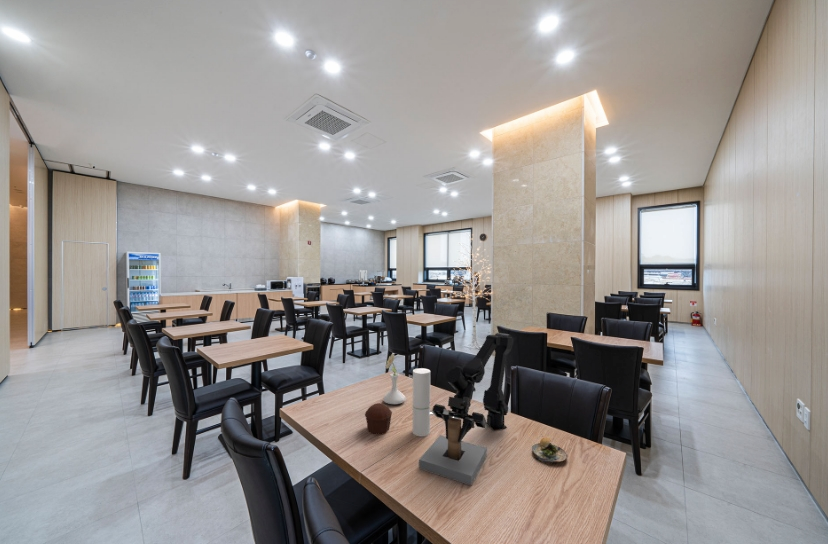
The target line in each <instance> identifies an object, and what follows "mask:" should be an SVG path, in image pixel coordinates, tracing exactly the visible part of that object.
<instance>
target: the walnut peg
mask: <svg viewBox="0 0 828 544" xmlns="http://www.w3.org/2000/svg"><path fill="white" fill-rule="evenodd" d="M461 428H462V419H457V418H452V417H450V418H449V419H448V457H447V458H450V459H454V460H457V461H459V460H460V458H461V442H460V443H459V442H458V439H459V435H460V431H461Z"/></svg>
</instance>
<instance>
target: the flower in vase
mask: <svg viewBox="0 0 828 544" xmlns="http://www.w3.org/2000/svg"><path fill="white" fill-rule="evenodd" d="M394 360H395V354H394V353H392V354H391V355H389V357H388V360H387V361H386V364H385V369H389V368H390V367H392V368H391V371H392V373H389V377H390V378H391V384H392V385H391V390H389V391H388V392H387V393H385V395H383V398H382V400H383V402H384V403H386V404H387V405H388V404H389V405H400V404H402V403H404V402H405V401H406V395H404V394H403V392H401V391H400V390H398V378H399V376H400V373H397V368H396V366H395V364H394Z"/></svg>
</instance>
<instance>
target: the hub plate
mask: <svg viewBox="0 0 828 544" xmlns="http://www.w3.org/2000/svg"><path fill="white" fill-rule="evenodd" d="M487 455H488V447H486V446H482V445H479V444H475V443H471V442H467V441H464V440H461V458H460V460H459V461H457V460H454V459H450V458H448V439H446V435H442V434H441V435H439V436H438V437H437V438H436V440H435V441H434V442H433V443H432V444H431V445H430V446H429V448H427V450H425V452H424V453H423V454H422V456H421V457H420V458H419V459H418V469H419V470H421V471H425V472H428V473H431V474H434V475H438V476H440V477H443V478H447V479H449V480H453V481H456V482H458V483H461V484H465V485H468V486H473V484H474V481H475V480H476V477H477V476H478V474H479V472H480V471H481V468H482V466H483V464H484V462H485V460H486V458H487V457H488V456H487Z"/></svg>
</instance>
